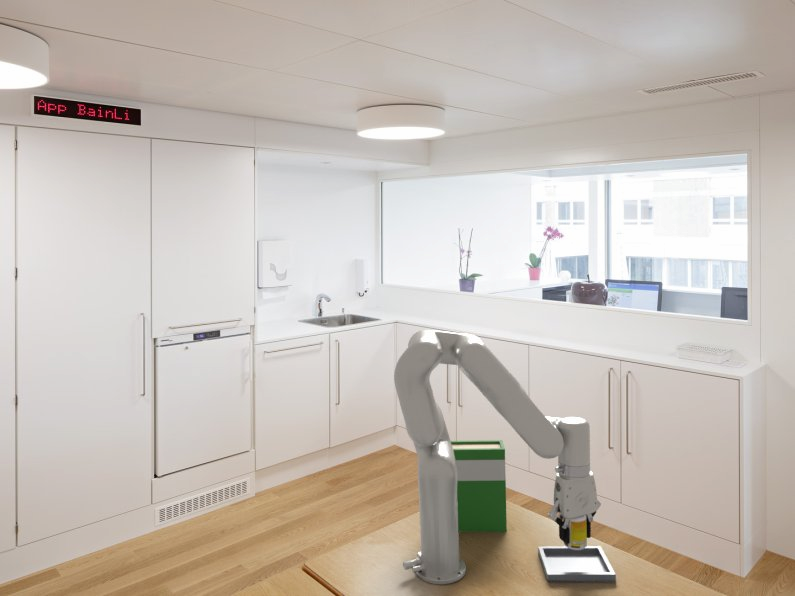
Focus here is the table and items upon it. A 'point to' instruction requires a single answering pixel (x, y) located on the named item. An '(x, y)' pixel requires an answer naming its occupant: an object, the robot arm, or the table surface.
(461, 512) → the hardback book
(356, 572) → the table surface
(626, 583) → the table surface
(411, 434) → the robot arm
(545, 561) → the tray
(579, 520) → the supplement bottle
